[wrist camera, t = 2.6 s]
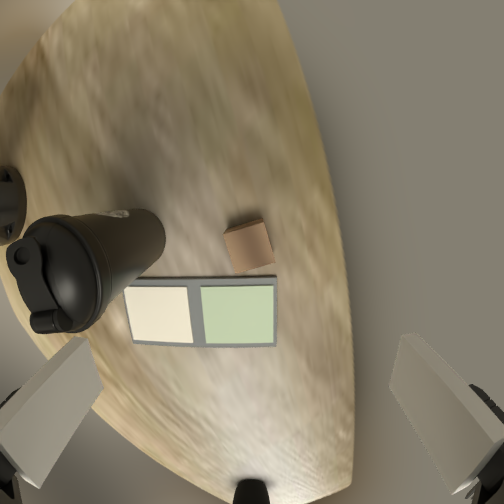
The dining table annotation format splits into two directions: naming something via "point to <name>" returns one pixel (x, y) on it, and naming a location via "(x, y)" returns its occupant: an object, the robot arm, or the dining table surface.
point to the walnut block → (249, 246)
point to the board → (203, 311)
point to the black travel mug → (81, 264)
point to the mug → (251, 493)
